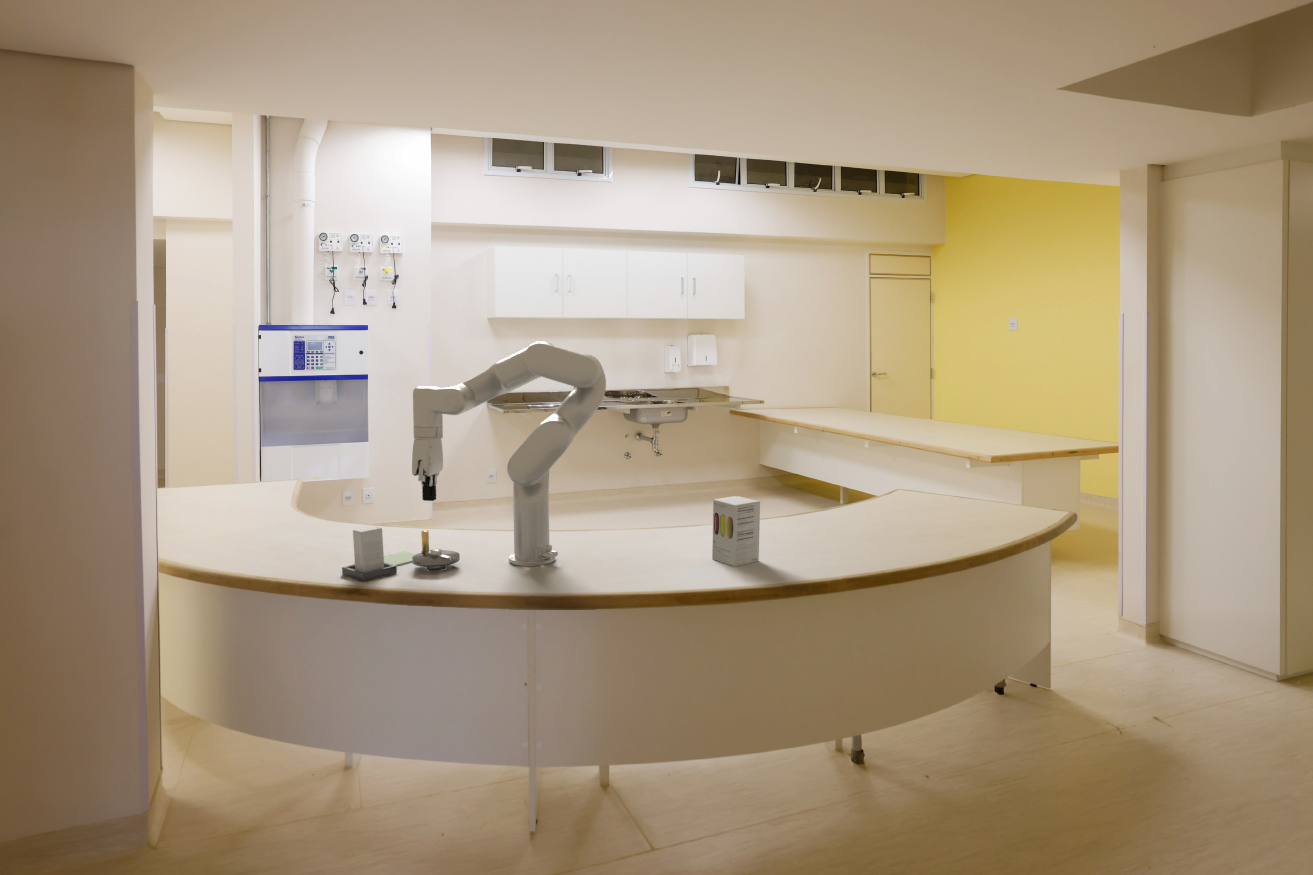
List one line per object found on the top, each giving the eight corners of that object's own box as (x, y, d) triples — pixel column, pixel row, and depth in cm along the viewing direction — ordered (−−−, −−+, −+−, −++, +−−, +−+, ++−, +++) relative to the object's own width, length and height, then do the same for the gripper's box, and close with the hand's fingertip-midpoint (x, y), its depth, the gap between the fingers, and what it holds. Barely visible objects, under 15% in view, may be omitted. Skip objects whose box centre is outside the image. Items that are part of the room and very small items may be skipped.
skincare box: (375, 570, 216) (373, 525, 214) (384, 573, 213) (382, 527, 211) (354, 575, 211) (352, 529, 209) (363, 578, 208) (361, 532, 207)
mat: (426, 558, 226) (426, 557, 226) (394, 566, 219) (394, 565, 219) (404, 552, 233) (404, 551, 233) (373, 560, 225) (373, 558, 225)
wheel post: (450, 567, 217) (449, 560, 217) (434, 572, 214) (434, 564, 213) (438, 564, 221) (438, 557, 220) (422, 568, 217) (422, 561, 216)
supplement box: (711, 559, 226) (711, 498, 224) (735, 553, 231) (736, 494, 229) (734, 567, 218) (735, 504, 216) (760, 561, 224) (761, 500, 222)
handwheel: (469, 559, 218) (468, 532, 217) (431, 569, 208) (430, 541, 208) (441, 552, 225) (440, 526, 224) (403, 561, 216) (402, 534, 215)
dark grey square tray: (396, 573, 213) (396, 565, 212) (363, 581, 205) (362, 574, 205) (375, 566, 219) (375, 559, 218) (342, 574, 211) (342, 567, 211)
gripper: (426, 429, 228) (428, 494, 230) (402, 435, 213) (403, 505, 215) (452, 429, 227) (453, 495, 229) (429, 436, 212) (430, 506, 214)
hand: (429, 499), depth 222 cm, fingers closed
